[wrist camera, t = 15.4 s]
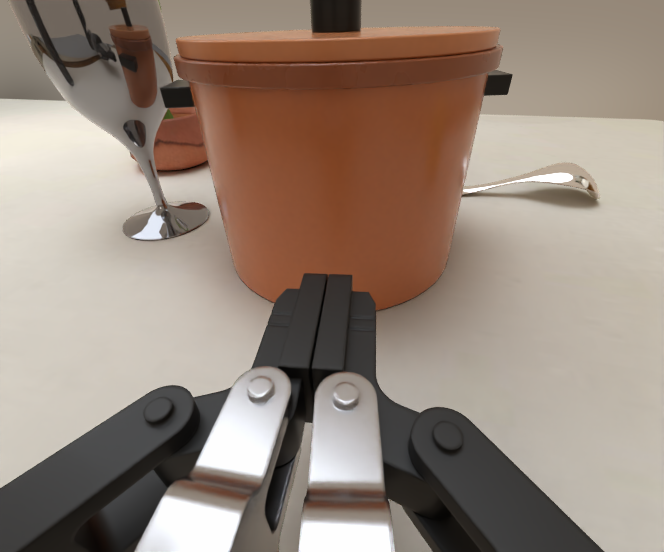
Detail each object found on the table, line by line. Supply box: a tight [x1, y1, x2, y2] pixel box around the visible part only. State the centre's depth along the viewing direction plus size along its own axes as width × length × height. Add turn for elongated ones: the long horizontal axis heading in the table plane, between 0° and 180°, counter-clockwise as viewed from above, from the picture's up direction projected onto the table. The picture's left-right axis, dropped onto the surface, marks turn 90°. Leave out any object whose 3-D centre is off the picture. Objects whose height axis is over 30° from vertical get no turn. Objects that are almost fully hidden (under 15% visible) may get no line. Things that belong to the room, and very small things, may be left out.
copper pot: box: [160, 0, 512, 310], centre depth 21 cm, size 17×19×15 cm
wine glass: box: [8, 0, 209, 240], centre depth 25 cm, size 8×8×15 cm
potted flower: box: [130, 0, 208, 171], centre depth 34 cm, size 12×10×25 cm
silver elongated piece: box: [462, 163, 600, 200], centre depth 31 cm, size 20×4×5 cm
